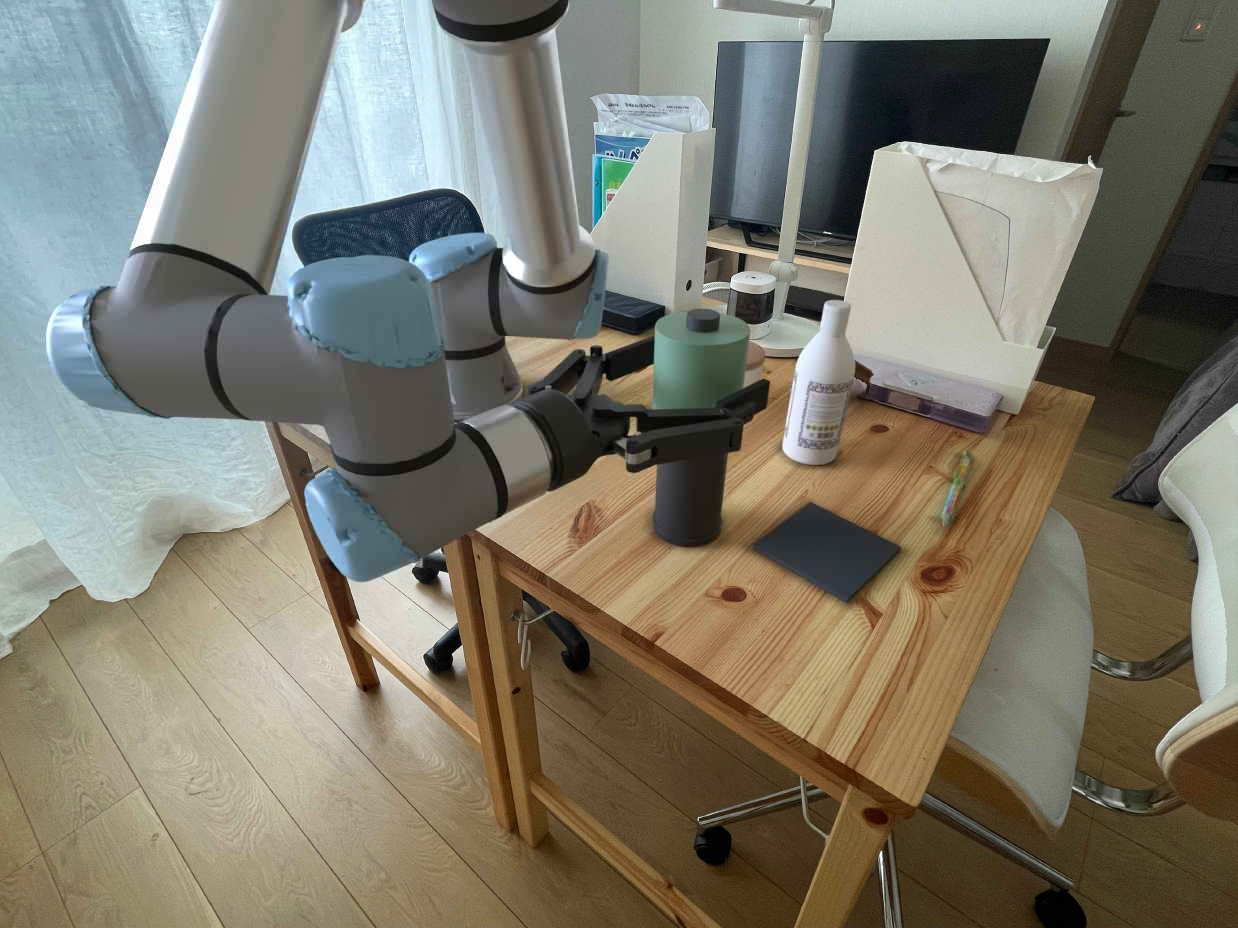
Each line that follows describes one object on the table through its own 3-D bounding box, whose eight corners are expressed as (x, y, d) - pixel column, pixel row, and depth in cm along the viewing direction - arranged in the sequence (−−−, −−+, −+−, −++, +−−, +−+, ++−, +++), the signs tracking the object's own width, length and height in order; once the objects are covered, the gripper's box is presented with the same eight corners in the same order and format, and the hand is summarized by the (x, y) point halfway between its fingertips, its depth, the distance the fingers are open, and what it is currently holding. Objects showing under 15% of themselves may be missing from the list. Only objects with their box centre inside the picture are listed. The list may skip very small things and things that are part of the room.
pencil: (948, 533, 69) (972, 458, 81) (951, 525, 68) (975, 451, 81) (935, 529, 69) (961, 455, 82) (938, 521, 69) (964, 448, 81)
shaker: (641, 514, 72) (644, 413, 64) (699, 498, 74) (708, 399, 67) (672, 555, 66) (679, 449, 59) (734, 536, 68) (748, 432, 61)
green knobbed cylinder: (637, 411, 65) (639, 305, 59) (710, 396, 68) (719, 294, 61) (677, 452, 58) (684, 337, 52) (755, 434, 61) (771, 323, 55)
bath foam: (847, 459, 81) (883, 308, 70) (805, 472, 79) (835, 318, 68) (811, 434, 87) (840, 291, 76) (770, 446, 84) (794, 299, 73)
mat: (752, 548, 67) (752, 544, 66) (809, 505, 73) (810, 501, 73) (846, 603, 60) (848, 599, 60) (900, 551, 66) (901, 546, 66)
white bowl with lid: (755, 384, 100) (763, 327, 95) (762, 416, 91) (770, 355, 86) (688, 380, 101) (692, 324, 96) (687, 412, 92) (691, 352, 87)
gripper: (448, 432, 58) (617, 366, 70) (640, 567, 43) (813, 453, 55) (435, 355, 54) (617, 300, 66) (643, 476, 39) (829, 374, 51)
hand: (706, 369), depth 60 cm, fingers open, 13 cm apart
